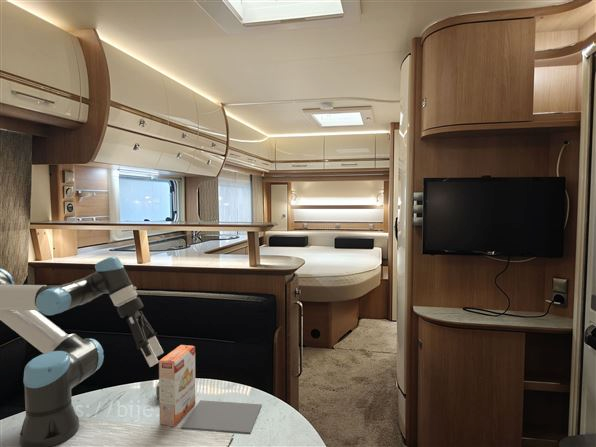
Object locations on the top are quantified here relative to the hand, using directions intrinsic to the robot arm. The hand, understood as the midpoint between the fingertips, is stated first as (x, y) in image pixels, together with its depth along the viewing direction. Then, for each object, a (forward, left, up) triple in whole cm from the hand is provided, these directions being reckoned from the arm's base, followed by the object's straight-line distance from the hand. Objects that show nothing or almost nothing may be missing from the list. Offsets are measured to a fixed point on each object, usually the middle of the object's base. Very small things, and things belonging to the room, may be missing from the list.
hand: (157, 359), depth 126 cm
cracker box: (+6, +1, -19) cm, 20 cm away
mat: (+21, +2, -19) cm, 28 cm away
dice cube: (-4, +12, -19) cm, 23 cm away
